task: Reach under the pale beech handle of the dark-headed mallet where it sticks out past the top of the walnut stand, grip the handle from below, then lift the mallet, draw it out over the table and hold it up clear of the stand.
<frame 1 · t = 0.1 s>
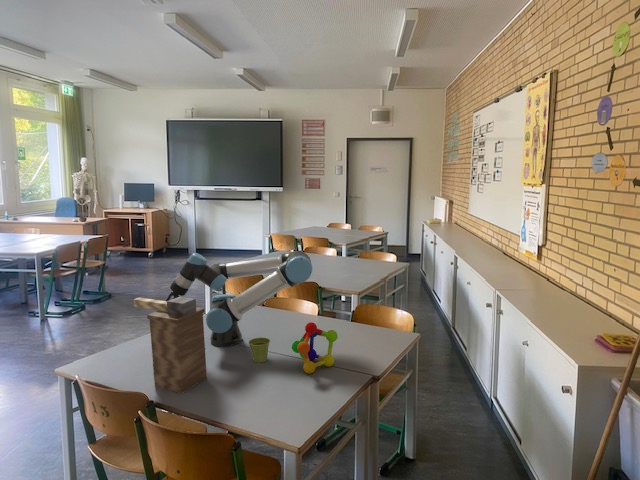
hand: (156, 322, 208), 15 cm above the table, tool tilted 35°, fingers open, 13 cm apart
plant pot: (260, 360, 202), on the table
molecular model: (311, 366, 195), on the table
stand: (181, 382, 183), on the table
mallet: (182, 312, 177), point 29 cm above the table, touching stand
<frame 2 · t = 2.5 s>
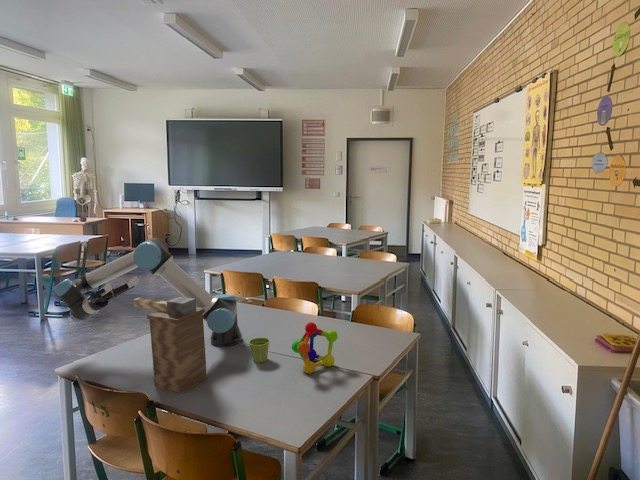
hand: (124, 282, 189), 38 cm above the table, tool pointing upward, fingers open, 13 cm apart
nothing on the table moved.
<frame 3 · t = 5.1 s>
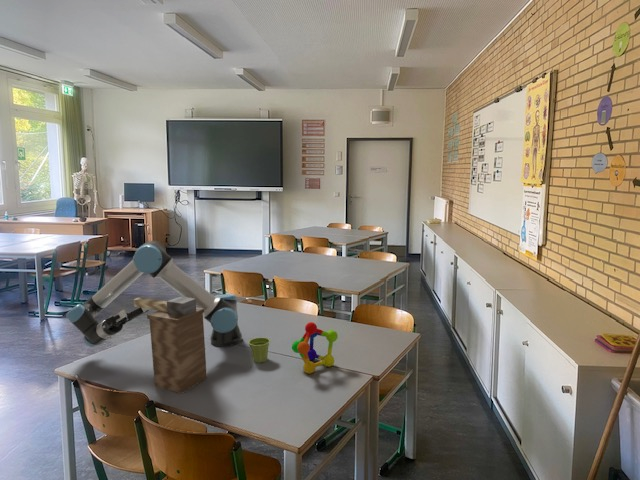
hand: (138, 307, 186), 28 cm above the table, tool pointing upward, fingers open, 13 cm apart
nothing on the table moved.
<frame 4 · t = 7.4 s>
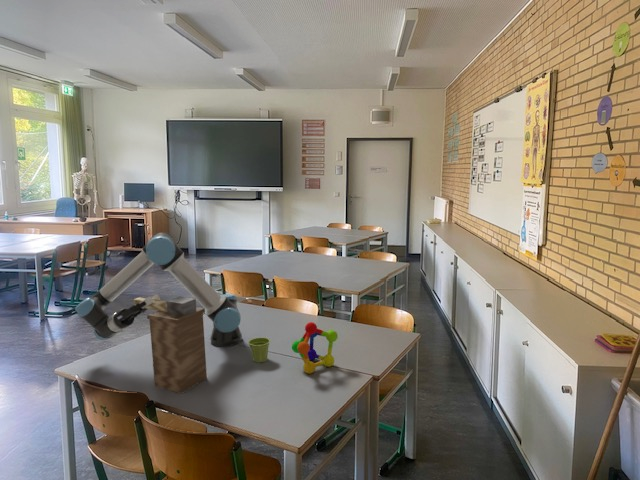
hand: (154, 298, 182), 33 cm above the table, tool pointing upward, fingers closed on mallet, 3 cm apart
mallet: (182, 312, 177), point 29 cm above the table, touching gripper, stand
everything else where it was.
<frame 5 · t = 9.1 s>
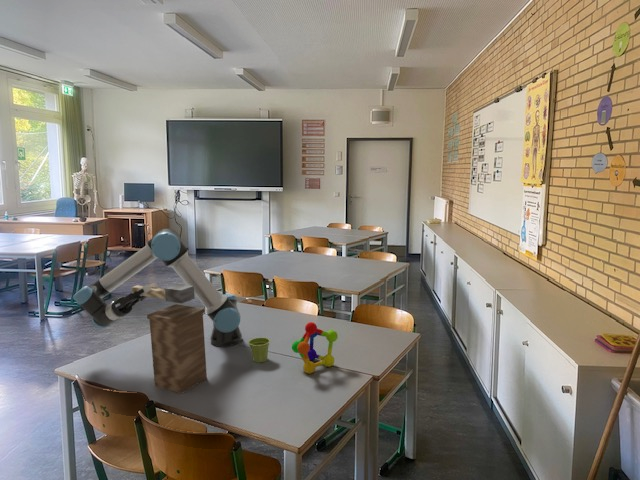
hand: (153, 285, 182), 38 cm above the table, tool pointing upward, fingers closed on mallet, 3 cm apart
mallet: (180, 299, 176), point 34 cm above the table, touching gripper
everything else where it was.
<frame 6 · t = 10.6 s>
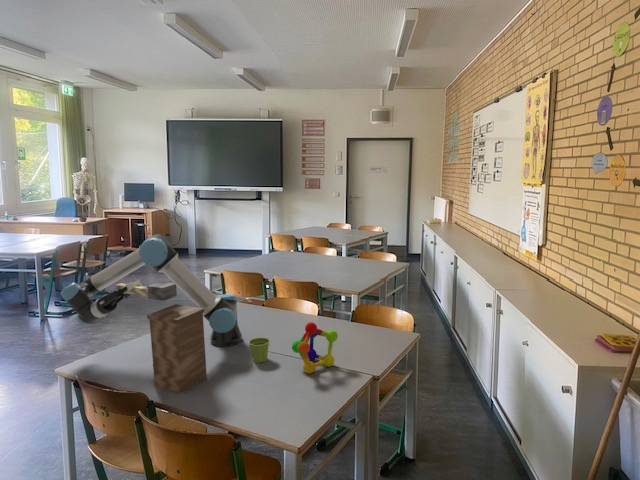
hand: (136, 283, 186), 38 cm above the table, tool pointing upward, fingers closed on mallet, 3 cm apart
mallet: (162, 297, 180), point 34 cm above the table, touching gripper
everything else where it was.
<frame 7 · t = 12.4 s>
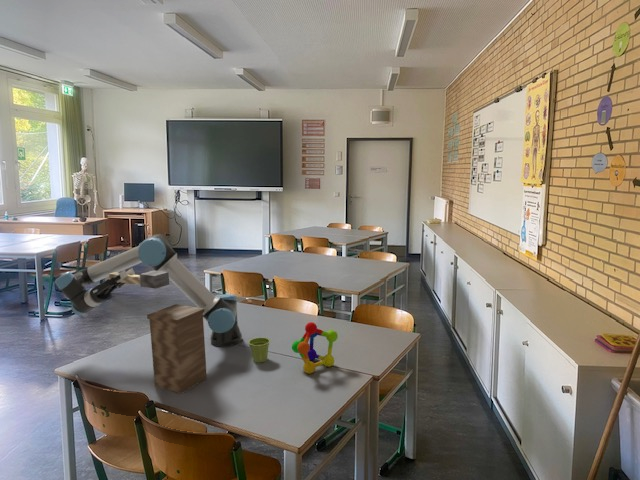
hand: (129, 272, 186), 43 cm above the table, tool pointing upward, fingers closed on mallet, 3 cm apart
mallet: (155, 285, 181), point 38 cm above the table, touching gripper
everything else where it was.
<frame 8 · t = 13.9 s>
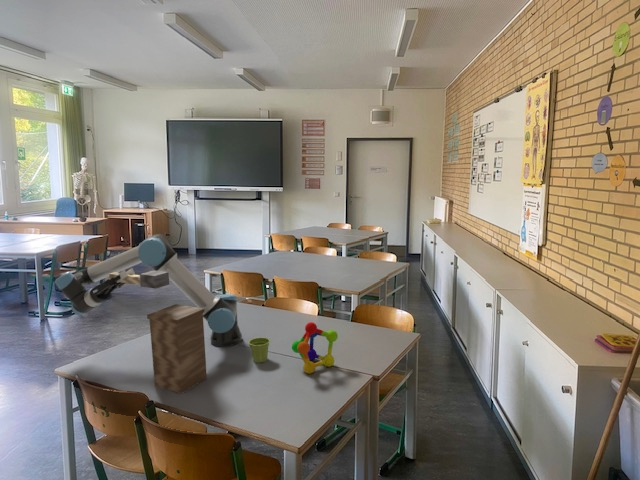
hand: (129, 272, 186), 43 cm above the table, tool pointing upward, fingers closed on mallet, 3 cm apart
mallet: (155, 285, 181), point 38 cm above the table, touching gripper
everything else where it was.
at the end: the gripper is holding mallet; mallet touching gripper; mallet point 38.5 cm above the table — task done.
